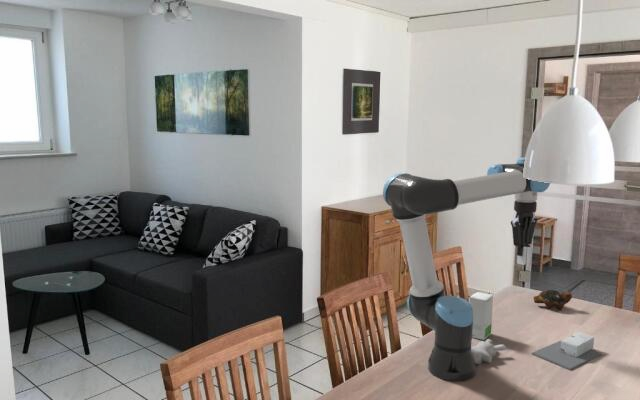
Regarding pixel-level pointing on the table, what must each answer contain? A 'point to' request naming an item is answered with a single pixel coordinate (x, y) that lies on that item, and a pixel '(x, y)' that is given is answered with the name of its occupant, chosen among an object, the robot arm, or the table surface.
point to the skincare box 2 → (577, 344)
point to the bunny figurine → (485, 351)
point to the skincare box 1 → (481, 315)
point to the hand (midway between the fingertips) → (521, 263)
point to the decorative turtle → (553, 299)
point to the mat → (564, 356)
